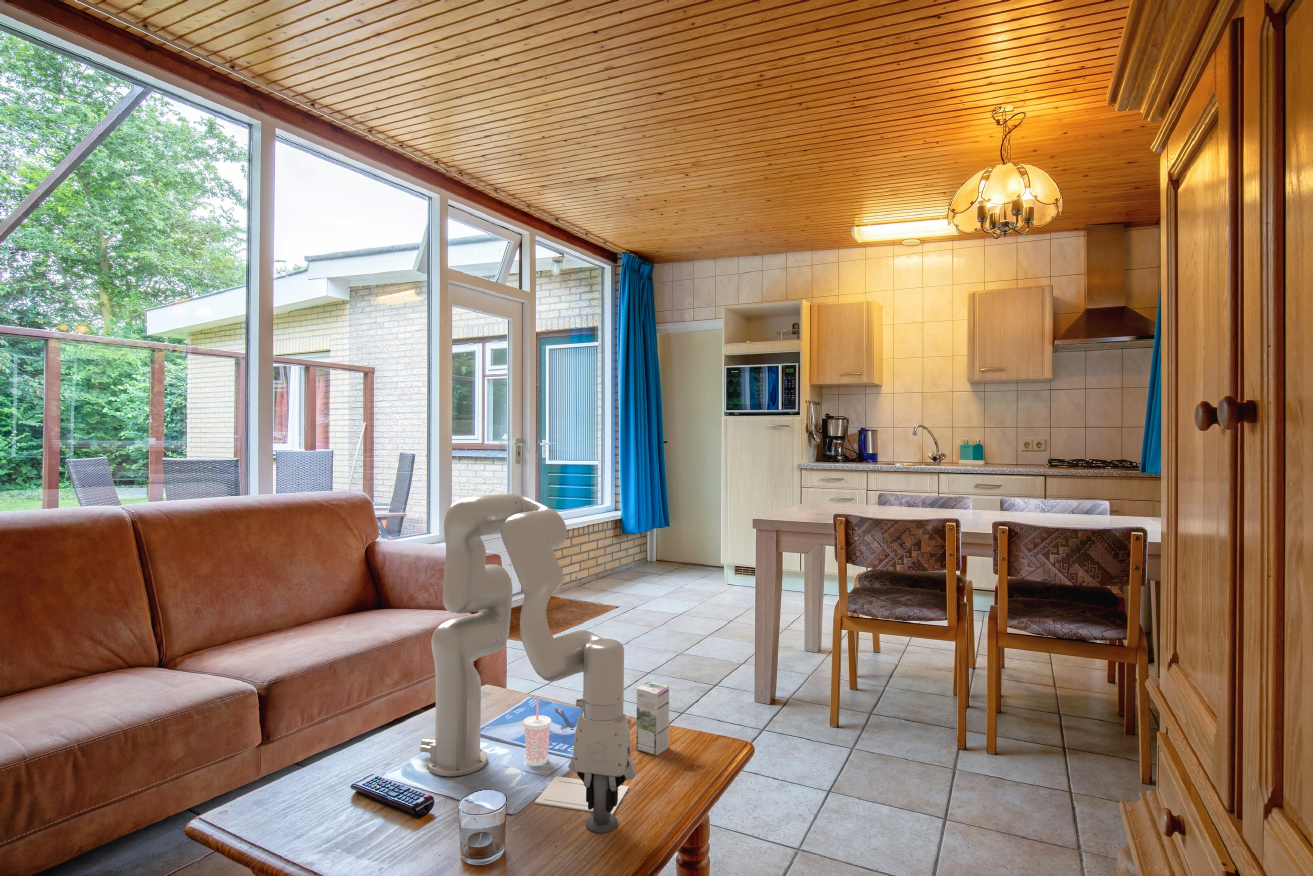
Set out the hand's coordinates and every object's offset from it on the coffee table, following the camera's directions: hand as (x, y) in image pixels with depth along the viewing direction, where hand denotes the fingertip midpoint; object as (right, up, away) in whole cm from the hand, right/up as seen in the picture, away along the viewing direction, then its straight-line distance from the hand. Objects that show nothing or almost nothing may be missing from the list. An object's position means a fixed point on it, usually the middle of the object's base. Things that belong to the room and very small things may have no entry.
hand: (601, 806), depth 132 cm
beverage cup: (-16, -3, +25) cm, 30 cm away
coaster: (0, -3, 0) cm, 3 cm away
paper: (-5, -3, +10) cm, 12 cm away
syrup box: (+9, -4, +32) cm, 34 cm away
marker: (0, -2, 0) cm, 2 cm away
